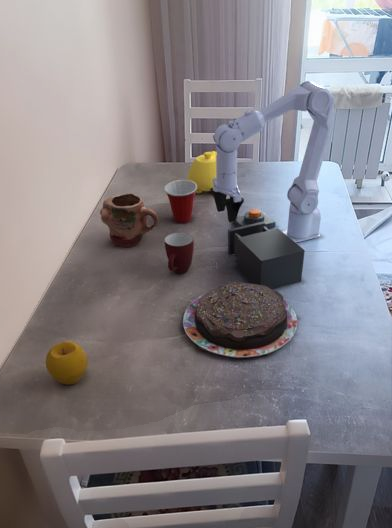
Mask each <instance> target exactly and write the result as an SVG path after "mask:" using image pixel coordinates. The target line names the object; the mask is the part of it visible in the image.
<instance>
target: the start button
mask: <svg viewBox="0 0 392 528" xmlns="http://www.w3.org/2000/svg"><path fill="white" fill-rule="evenodd" d="M248 211H249V217H252V218H257V217H260V212H261V209H259V208H250V209H248Z"/></svg>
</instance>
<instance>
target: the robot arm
mask: <svg viewBox="0 0 392 528" xmlns="http://www.w3.org/2000/svg"><path fill="white" fill-rule="evenodd" d="M334 101H335V97H334V96H333V94H332V93H331V91H330V90H329V89H328V88H325V87H323V86H321V85H318V84H316V83H315V82H313V81H311V80H306V81H303V82H301V83H300V84H297V85H295V86H293V88H292V89H290V90H289V91H288V92H287V93H285V94H284V95H282V96H280V97H279V98H277V99H276V100H275V101H273V102H271V103H270V104H268V105H267V106H265V107H263V108H262V109H261V110H255V109H251V110H249V109H247V110H246V111H244V114H243V115H241V116H240V117H238V118H236V119H234V120H230V121H228V124H225V123H223V124H221V125H219V126H218V127H217V128H216V130H215V131H214V133H213V135H212V138H213V142H214V144H216V146H215V148H216V150H215V152H216V178H213V185H215V186H214V187H213V188H210V191H209V192H210V193H211V194H212V196H213V200H214V204H215V208H216V211H217V212H218V213H220V212H225V210H226V215H227V220H228V222H229V223H233V221H236V219H237V217H238V216H239V212H240V209H241V207H242V205H243V204H244V202H245V199H244V198H243V197H242V194H241V193H240V190H239V187H238V182H237V181H238V148H239V147H240V145H241V143H242V142H244V141H246V140H247V139H249V138H251V137H254V136H255V135H256V134H258V133H260V132H262V131H263V129H264V128H265V125H266V123H269V122H271V121H272V120H275V119H276V118H279V117H280V116H283V115H284V114H287V113H288V112H290V111H293V110H294V111H301V112H307V113H308V114H309V116H310V117H311V119H312V120H313V123H312V126H311V130H310V133H309V137H308V140H307V145H306V148H305V151H304V155H303V159H302V162H301V167H300V171H299V174H298V176H296V177H294V179H293V181H292V184H291V185H290V187H289V188H288V190H287V194H286V196H287V197H286V198H287V199H288V201H289V202H290V203H289V209H288V220H287V228H286V229H285V230H284V229H283V230H281V231H282V232H283V233H284V234H285V235H287V236H288V237H289V238H290V239H292V240H293V241H294V242H295V243H296V244H298V243H301V242H305V241H308V240H313V239H316V238H320V237H321V235H320V228H321V227H320V226H321V219H322V215H321V211H320V208H319V207H318V206H319V192H320V189H319V185H318V178H319V174H320V171H321V168H322V165H323V161H324V158H325V154H326V151H327V148H328V144H329V140H330V137H331V134H332V131H333V127H334V124H335V120H336V113H335V106H334ZM228 196H229V198H227V197H228Z"/></svg>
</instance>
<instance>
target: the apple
mask: <svg viewBox="0 0 392 528" xmlns="http://www.w3.org/2000/svg"><path fill="white" fill-rule="evenodd" d="M45 367H46V369H47V372H48V374H49V375H50V376H51V377H52V378H53V380H55V381H57V382H58V383H60V384H63V385H67V386H70V385H75V384H77V383H78V382H80V381H81V380H82V378H83V376H84V375H85V373H86V371H87V368H88V356H87V355H86V352H85V351H84V349H83V348H82V346H80V344H78V343H77V342H75V341H70V340H66V341H62V342H58V343H56V344H55V345H54V346H52V347H51V348H50V349H49V350H48V352H47V353H46V356H45Z"/></svg>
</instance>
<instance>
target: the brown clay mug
mask: <svg viewBox="0 0 392 528" xmlns="http://www.w3.org/2000/svg"><path fill="white" fill-rule="evenodd" d="M102 202H103V203H102V208H101V209H100V210H99V214H100V220H101V222H102V223H103V224H104V225H105V226H107V227H108V230H109V239H110V241H111V243H112V244H113V245H115V246H116V247H119V248H132V247H134V246H136V245H138V244H140V242H141V241H142V239H143V236H144V235H146V234H147V233H150V232H151V231H152V230H154V229H155V228H156V227H158V223H159V217H158V215H157V213H156V212H155V211H154V210H152V209H151V208H147V207H146V206H145V203H144V202H145V201H144V200H143V199H142V198H141V196H139V195H136V194H134V193H124V194H122V193H121V194H118V195H113V196H109V197H108V198H106V199H104V201H102ZM149 217H150V218H152V220H153V224H152V225H151V226H148V225H147V221H148V219H149Z"/></svg>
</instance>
